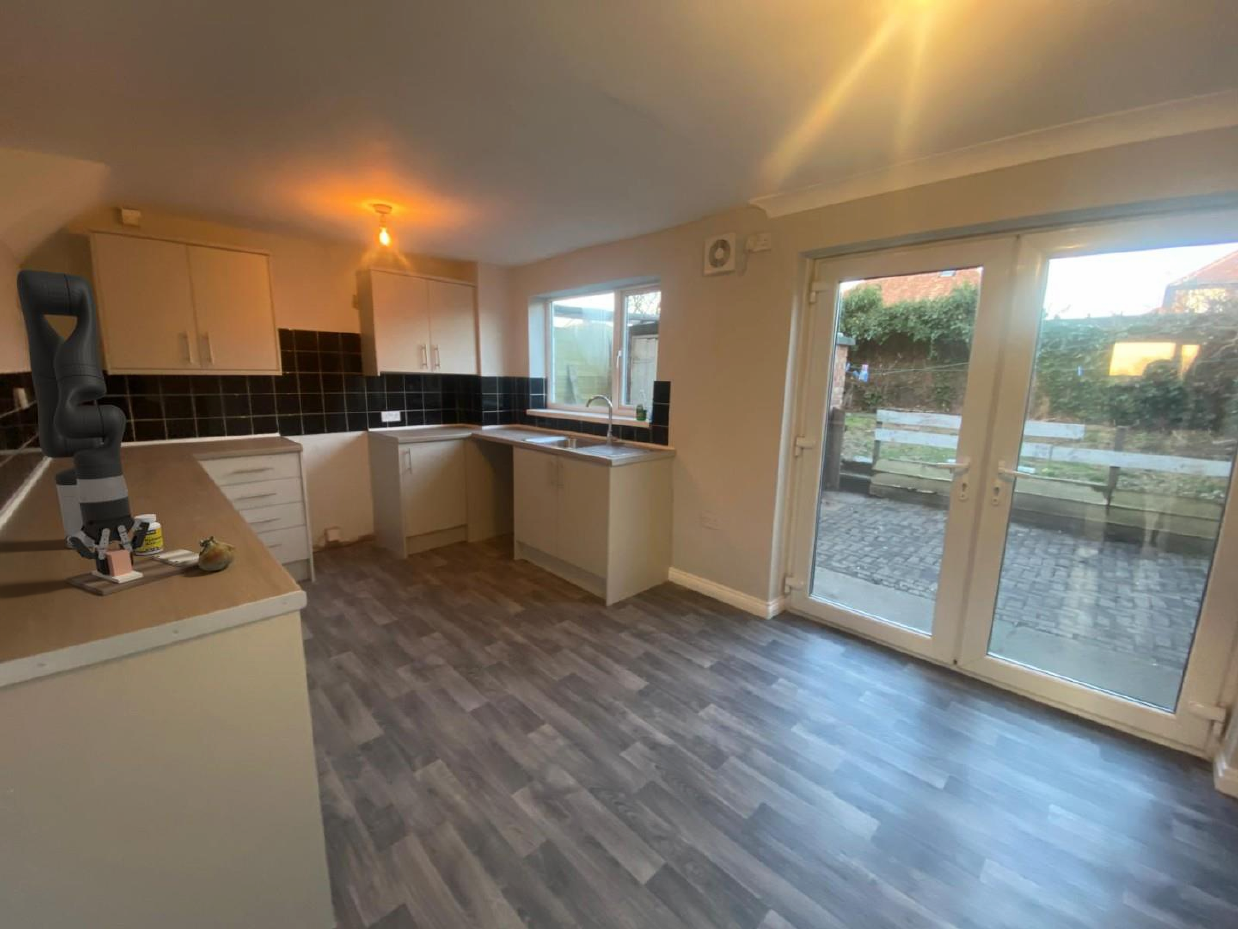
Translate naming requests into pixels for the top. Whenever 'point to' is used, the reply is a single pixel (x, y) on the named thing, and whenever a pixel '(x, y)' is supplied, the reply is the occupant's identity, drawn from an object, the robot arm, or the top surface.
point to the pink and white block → (119, 566)
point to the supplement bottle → (150, 536)
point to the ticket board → (150, 569)
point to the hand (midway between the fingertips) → (116, 571)
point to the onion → (215, 554)
